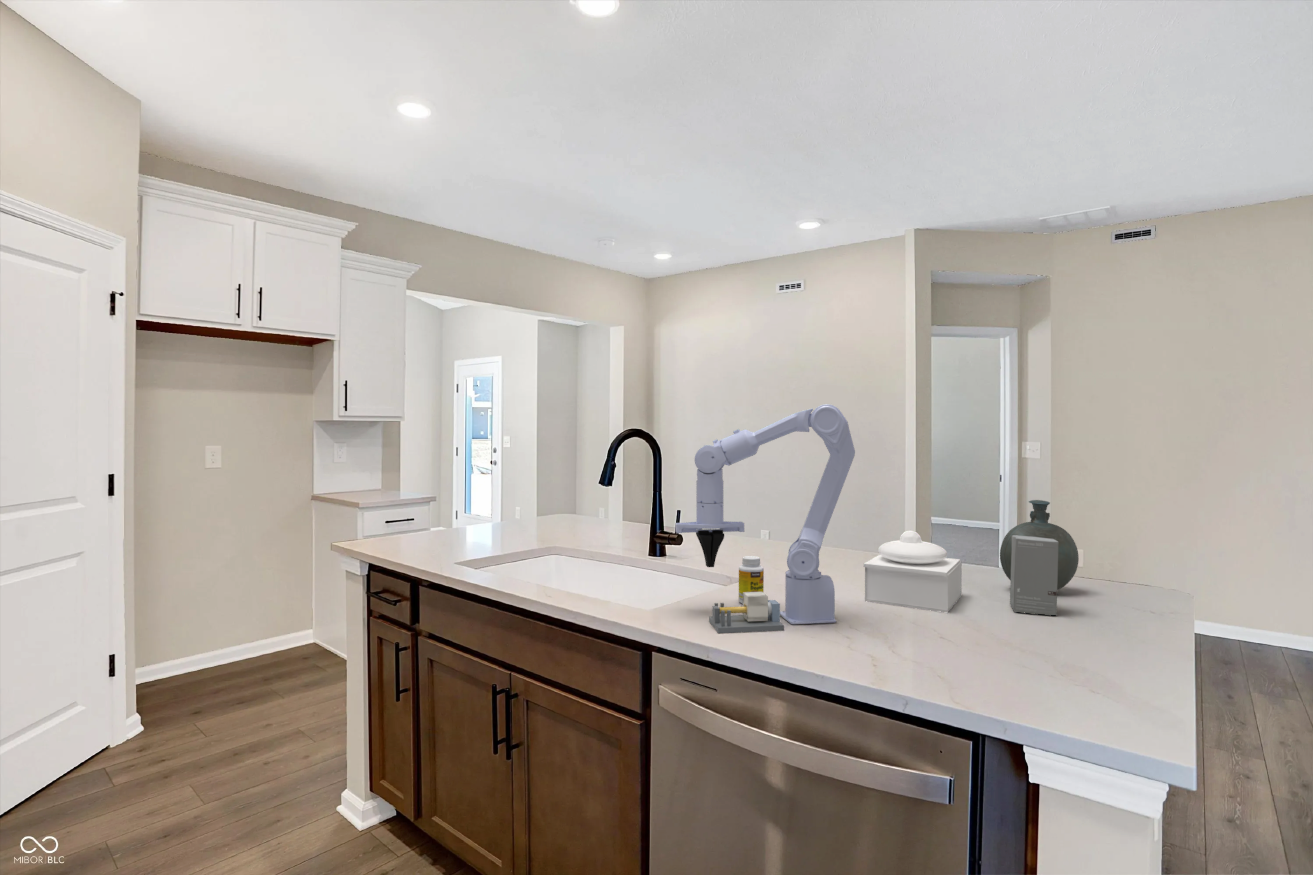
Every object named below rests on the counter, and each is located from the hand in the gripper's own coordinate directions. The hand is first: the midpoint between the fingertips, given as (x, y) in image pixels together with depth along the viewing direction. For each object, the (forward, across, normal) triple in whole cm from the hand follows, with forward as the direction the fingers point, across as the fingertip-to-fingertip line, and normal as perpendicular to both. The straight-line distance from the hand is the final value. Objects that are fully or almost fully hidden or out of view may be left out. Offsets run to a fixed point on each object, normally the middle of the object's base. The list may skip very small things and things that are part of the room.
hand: (709, 566), depth 138 cm
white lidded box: (+10, -49, -5) cm, 50 cm away
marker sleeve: (+8, -7, +10) cm, 15 cm away
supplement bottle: (+10, -11, -7) cm, 16 cm away
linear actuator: (+10, -5, +10) cm, 15 cm away
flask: (+10, -82, -7) cm, 83 cm away
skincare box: (+10, -69, +8) cm, 70 cm away
